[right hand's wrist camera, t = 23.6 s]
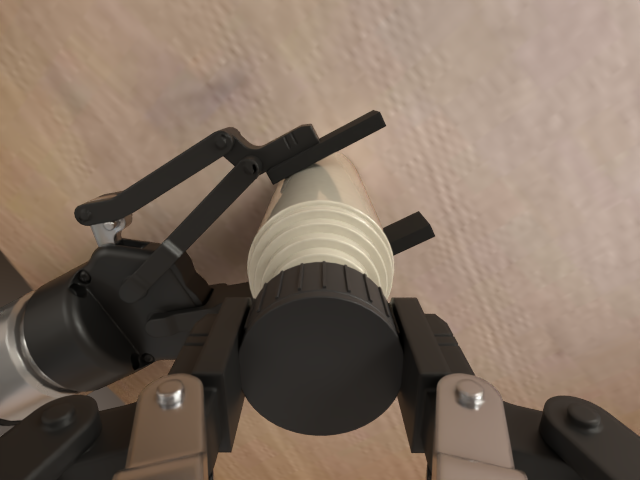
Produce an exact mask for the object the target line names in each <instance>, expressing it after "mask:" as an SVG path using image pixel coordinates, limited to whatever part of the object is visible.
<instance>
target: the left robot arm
mask: <svg viewBox="0 0 640 480" xmlns="http://www.w3.org/2000/svg"><path fill="white" fill-rule="evenodd" d="M385 126H386V124H385V122H384V120H383V118H382V115H381V113H380V112H378V111H375V110H373V111H371V112H369V113H367V114H365V115H363V116H361V117H359V118H357V119H356V120H354V121H352V122H350V123H348V124H346V125H344V126H342V127H340V128H339V129H337V130H335V131H333V132H331V133H329V134H327V135H325V136H323V137H322V138H320V139H319V138H318V136H317V134H316V132H315V130H314V128H313V126H312V124H305V125H301V126H299V127H297V128H295V129H293V130H291V131H289V132H288V133H286V134H284V135H282V136H280V137H278V138H276V139H275V140H273V141H271V142H269V143H267V144H265V145H263V146H255V145H252V144H251V143H249V142H248V141H247V140H246V139H245V138H244V137H242V136H241V134H240V132H239V131H238V130H237V129H235V128H233V127H228V128H225V129H222V130H219V131H216V132H214V133H212V134H211V135H209V136H208V137H206V138H205V139H203V140H202V141H200V142H199V143H197V144H195V145H194V146H192V147H191V148H189V149H188V150H186V151H185V152H183V153H182V154H180V155H178V156H177V157H175V158H174V159H172V160H171V161H169V162H168V163H166V164H164V165H163V166H161V167H160V168H158V169H157V170H155V171H154V172H152V173H151V174H149V175H147V176H146V177H144V178H143V179H141V180H140V181H138V182H137V183H135V184H134V185H132V186H130V187H129V188H127V189H126V190H124V191H120V192H115V193H109V194H104V195H102V196H99V197H97V198H95V199H92V200H90V201H88V202H86V203H84V204H82V205H80V206H78V207H77V208H76V209H75V212H74V215H75V218H76V220H77V221H78V222H79V223H80V224H82V225H85V226H91V229H92V231H93V234H94V236H95V239H96V241H97V244H98V246H99V247H98V248H97V249H96V250H95V251H94V253H93V254H92V257H91V259H90V260H89V261H88V262H86V263H84V264H82V265H80V266H78V267H77V268H75V269H73V270H71V271H69V272H67V273H65V274H63V275H61V276H60V277H58V278H56V279H54V280H52V281H50V282H48V283H46V284H45V285H43V286H41V287H40V288H39V289H37V290H34V291H31V292H29V293H27V294H26V295H24V296H22V297H20V298H18V299H16V300H14V301H12V302H10V303H9V304H7V305H5V306H3V307H1V308H0V435H2V434H4V433H6V432H7V431H8V430H10V429H11V428H12V427H14V426H15V425H16V424H18V423H19V422H20V421H22V420H23V419H24V418H25V417H27V416H28V415H29V414H31V413H32V412H33V411H35V410H36V409H38V408H39V407H41V406H42V405H44V404H46V403H48V402H50V401H52V400H55V399H57V398H61V397H64V396H69V395H88V394H89V393H91V392H93V391H94V390H98V389H100V388H103V387H105V386H107V385H109V384H111V383H113V382H116V381H118V380H120V379H122V378H124V377H126V376H129V375H131V374H133V373H135V372H137V371H139V370H141V369H143V368H145V367H147V366H148V365H150V364H152V363H153V362H155V361H158V360H175V359H176V358H177V357H178V355H179V353H180V351H181V349H182V347H183V346H184V345H185V341H186V340H187V338H188V336H189V334H190V332H191V330H192V328H193V326H194V325H195V323H196V322H197V321H199V320H200V319H201V318H202V317H204V316H205V315H206V314H218V313H219V310H220V308H221V306H222V304H223V302H224V299H225V298H226V297H250V298H251V301H253V296H252V293H251V290H250V286H249V282H247V283H240V284H234V285H227V284H224V283H222V284H215V285H208V284H207V282H206V281H205V280H204V279H203V278H202V277H201V276H200V275H199V274H198V273H197V272H196V271H195V268H194V266H193V263H192V260H191V258H190V257H189V255H188V254H187V252H186V250H187V249H188V248H189V247H190V246H191V245H192V244H193V243H194V242H195V241H196V240H197V239H198V238H199V237H200V236H201V235H202V234H203V233H204V232H205V230H206V229H207V228H208V227H209V226H210V225H211V224H212V223H213V222H214V221H215V220H216V219H217V218H218V217H219V216H220V215H221V214H222V213H223V212H224V211H225V210H226V209H227V208H228V207H229V206H230V205H231V204H232V203H233V202H234V201H235V200H236V199H237V198H238V197H239V196H240V195H241V194H242V193H243V191H244V190H245V189H246V188H247V187H248V186H249V185H250V184H251V183H252V182H253V181H254V180H255V179H257V177H258V176H259V175H261V174H263V173H264V172H266V171H267V172H266V173H267V175H268V176H269V178H270V180H271V182H272V184H273V185H274V184H276V183H278V182H279V181H281V180H283V179H285V178H287V177H289V176H291V175H293V174H295V173H297V172H299V171H301V170H303V169H304V168H306V167H308V166H310V165H312V164H314V163H316V162H318V161H320V160H322V159H324V158H326V157H328V156H329V155H331V154H333V153H335V152H337V151H339V150H341V149H343V148H345V147H347V146H349V145H351V144H353V143H354V142H356V141H358V140H360V139H362V138H364V137H366V136H368V135H370V134H372V133H374V132H376V131H378V130H379V129H381V128H383V127H385ZM222 156H224V157H225V158H226V159H227V160H228V161H229V162H231V163H232V164H233V165H234V166H235V167H234V168H233V169H232V170H231V171H230V172H229V173H228V174H227V175H226V177H225V178H224V179H223V180H222V181H221V182H220V183H219V184H218V185H217V186H216V187H215V188H214V189H213V190H212V191H211V192H210V193H209V194H208V196H207V197H206V198H205V199H204V200H203V201H202V202H201V203H200V204H199V205H198V206H197V207H196V208H195V209H194V210H193V211H192V212H191V214H190V215H189V216H188V217H187V218H186V219H185V220H184V221H183V222H182V223H181V224H180V225H179V226H178V227H177V228H176V229H175V230H174V231H173V233H172V234H171V235H170V236H169V237H168V238H167V239H166V240H165V241H164V242H163V243H162V244H160V243H153V242H146V241H138V240H131V239H124V238H122V237H121V232H122V230H123V229H125V228H126V227H127V226H129V225H130V224H131V222H132V213H133V212H135V211H137V210H138V209H140V208H141V207H143V206H145V205H146V204H148V203H149V202H151V201H153V200H154V199H156V198H157V197H159V196H160V195H162V194H164V193H165V192H167V191H168V190H170V189H172V188H173V187H175V186H176V185H178V184H180V183H181V182H183V181H184V180H186V179H187V178H189V177H191V176H192V175H194V174H195V173H197V172H199V171H200V170H202V169H203V168H205V167H206V166H208V165H210V164H211V163H213V162H214V161H216V160H218V159H219V158H221V157H222ZM383 230H384V232H385V234H386V236H387V239H388V241H389V243H390V246H391V249H392V252H393V256H394V255H396V254H398V253H400V252H402V251H404V250H407V249H409V248H411V247H413V246H415V245H417V244H420V243H422V242H424V241H426V240H428V239H430V238H433V237H435V235H434V232H433V230H432V228H431V226H430V224H429V223H428V222H427V220H426V219H425V218H424V217H423V216H422V214H421V213H420V212H419V211H418V212H416V213H414V214H412V215H410V216H408V217H406V218H403V219H401V220H399V221H397V222H395V223H393V224H391V225H389V226H387V227H385V228H383Z"/></svg>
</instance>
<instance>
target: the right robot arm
mask: <svg viewBox="0 0 640 480" xmlns="http://www.w3.org/2000/svg"><path fill="white" fill-rule="evenodd" d="M390 303H391V306H392V309H393V312H394V315H395V318H396V321H397V324H398V328H399V331H400V334H401V335H399V338H400V341H401V344H402V347H403V351H404V358H403V370H402V381H401V389H400V391H399V393H398V395H397V397H398V401H399V405H400V409H401V413H402V417H403V421H404V425H405V429H406V433H407V437H408V441H409V445H410V449H411V453H425V456H426V459H427V470H426V480H640V436H638V435H637V434H636V433H634V432H633V431H632V430H630V429H629V428H628V427H626V426H625V425H624V424H622V423H621V422H620V421H618V420H617V419H616V418H615V417H613V416H612V415H611V414H609V413H608V412H607V411H605V410H604V409H602V408H601V407H599V406H597V405H595V404H593V403H591V402H589V401H586V400H584V399H580V398H577V397H572V396H555V397H552V398H550V399H549V400H547V401H546V403H545V405H544V409H543V411H538V410H534V409H529V408H525V407H521V406H517V405H513V404H510V403H507V402H504V401H503V400H502V397H501V395H500V393H499V392H498V390H497V389H496V388H495V387H494V386H493V385H491V384H490V383H489V382H487V381H485V380H484V379H481V378H479V377H476V376H475V374H474V372H473V371H472V369H471V367H470V365H469V363H468V361H467V359H466V358H465V356H464V354H463V352H462V350H461V348H460V347H459V346H458V343H457V341H456V339H455V337H453V334H452V332H451V330H450V328H449V326H448V324H447V323H446V322H444V321H443V320H442V319H441V318H439V317H438V316H437V315H436V314H424V312H423V310H422V308H421V306H420V304H419V302H418V299H417V298H391V302H390ZM251 304H252V301H251V298H250V297H226V298H225V299H224V302H223V304H222V306H221V308H220V310H219V313H218V314H206V315H205V316H204V317H202V318H201V319H200V320H199V321H197V322H196V323H195V325H194V326H193V328H192V330H191V332H190V334H189V336H188V338H187V340H186V341H185V345H184V346H183V347H182V349H181V351H180V353H179V355H178V357H177V358H176V360H175V362H174V364H173V366H172V368H171V370H170V372H169V373H168V375H167V376H164V377H161V378H159V379H156V380H155V381H153V382H151V383H150V384H149V385H147V386H146V387H145V388H144V389H143V390H142V392H141V393H140V395H139V397H138V400H137V402H135V403H132V404H128V405H124V406H120V407H115V408H111V409H107V410H102V411H99V410H98V406H97V403H96V401H95V400H94V399H93V398H92V397H90V396H87V395H69V396H64V397H61V398H57V399H55V400H52V401H50V402H48V403H46V404H44V405H42V406H41V407H39V408H38V409H36V410H35V411H33V412H32V413H31V414H29V415H28V416H27V417H25V418H24V419H23V420H22V421H20V422H19V423H18V424H16V425H15V426H14V427H12V428H11V429H10V430H8V431H7V432H6V433H4V434H3V435H2V436H1V437H0V480H214V470H213V468H214V465H215V462H216V458H217V455H218V452H231V451H232V447H233V443H234V439H235V435H236V431H237V426H238V422H239V418H240V414H241V410H242V406H243V402H244V398H245V395H244V393H243V391H242V389H241V378H240V366H239V347H240V344H241V341H242V338H243V334H244V331H245V330H244V326H245V323H246V320H247V317H248V313H249V310H250V307H251Z"/></svg>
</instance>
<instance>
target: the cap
mask: <svg viewBox="0 0 640 480" xmlns="http://www.w3.org/2000/svg"><path fill="white" fill-rule="evenodd" d="M244 330H245V331H244V334H243V338H242V341H241V344H240V347H239V366H240V378H241V389H242V391H243V393H244V395H245V397H246V398H247V400H248V402H249V403H250V404H251V405H252V406H253V408H254V409H255V410H256V411H257V412H258V413H259V414H260V415H262V416H263V417H264V418H266V419H267V420H268V421H270V422H272V423H274V424H275V425H277V426H279V427H282V428H284V429H286V430H289V431H293V432H296V433H301V434H306V435H315V436H327V435H336V434H341V433H346V432H349V431H353V430H356V429H358V428H360V427H363V426H365V425H367V424H368V423H370V422H372V421H374V420H375V419H376V418H378V417H379V416H380V415H381V414H383V413H384V412H385V411H386V410H387V409H388V408H389V406H390V405H391V404H392V403H393V401H394V400H395V398H396V397H397V395H398V393H399V391H400V389H401V381H402V370H403V358H404V351H403V347H402V344H401V341H400V338H399V335H401V334H400V331H399V328H398V324H397V321H396V318H395V315H394V312H393V309H392V306H391V303H388V302H387V299H386V298H385V296H384V294H383V292H382V288H381V287H378V286H377V285H376V284H375V283H374V282H373V281H372V280H371V279H370V278H368V277H367V275H366V274H365V273H364V274H363V273H361V272H359V271H357V270H355V269H353V268H350V267H348V266H347V265H345V264H344V265H341V264H337V263H330V262H326V261H323V262H311V263H305V264H303V263H300V265H297V266H294V267H291V268H289V269H287V270H285V271H283V270H282V271H280V273H279V274H278V275H276V276H275V277H274V278H272V279H271V280H270V281H269V282H268V283H266V282H265V283H264V286H263V288H262V289H261V291H260V292H259V294H258V295H257V297H256V299H255V298H254V299H253V301H252V304H251V307H250V310H249V313H248V317H247V320H246V323H245V326H244Z"/></svg>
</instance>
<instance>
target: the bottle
mask: <svg viewBox="0 0 640 480" xmlns="http://www.w3.org/2000/svg"><path fill="white" fill-rule="evenodd" d="M323 261H326V262H330V263H337V264H341V265H344V264H345V265H347V266H348V267H350V268H353V269H355V270H357V271H359V272H361V273H363V274H364V273H365V274H366V275H367V277H368V278H370V279H371V280H372V281H373V282H374V283H375V284H376V285H377V286H378V287H381V288H382V292H383V294H384V296H385V298H386V299H387V300H388V297H389V295H390V292H391V288H392V283H393V277H394V257H393V252H392V249H391V246H390V243H389V241H388V239H387V236H386V234H385V232H384V230H383V227H382V225H381V223H380V221H379V219H378V216H377V214H376V212H375V210H374V207H373V205H372V203H371V201H370V198H369V196H368V194H367V192H366V189H365V187H364V185H363V183H362V181H361V178H360V176H359V174H358V172H357V170H356V168H355V166H354V165H353V164H352V162H351V161H350V160H349V159H348V158H346V157H345V156H344V155H342V154H341V153H338V152H335V153H333V154H331V155H329V156H328V157H326V158H324V159H322V160H320V161H318V162H316V163H314V164H312V165H310V166H308V167H306V168H304V169H303V170H301V171H299V172H297V173H295V174H293V175H291V176H289V177H287V178H285V179H283V180H281V181H279V183H278V185H277V188H276V190H275V192H274V194H273V197H272V199H271V201H270V204H269V206H268V208H267V210H266V213H265V215H264V217H263V219H262V222H261V224H260V226H259V228H258V231H257V233H256V235H255V238H254V240H253V242H252V244H251V247H250V250H249V254H248V261H247V274H248V280H249V286H250V290H251V293H252V296H253V299H254V298H255V299H256V297H257V295H258V294H259V292H260V291H261V289H262V288H263V286H264V283H265V282H266V283H268V282H269V281H270V280H271V279H272V278H274V277H275V276H276V275H278V274H279V273H280V271H282V270H283V271H285V270H287V269H289V268H291V267H294V266H297V265H300V263H303V264H305V263H311V262H323Z"/></svg>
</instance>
